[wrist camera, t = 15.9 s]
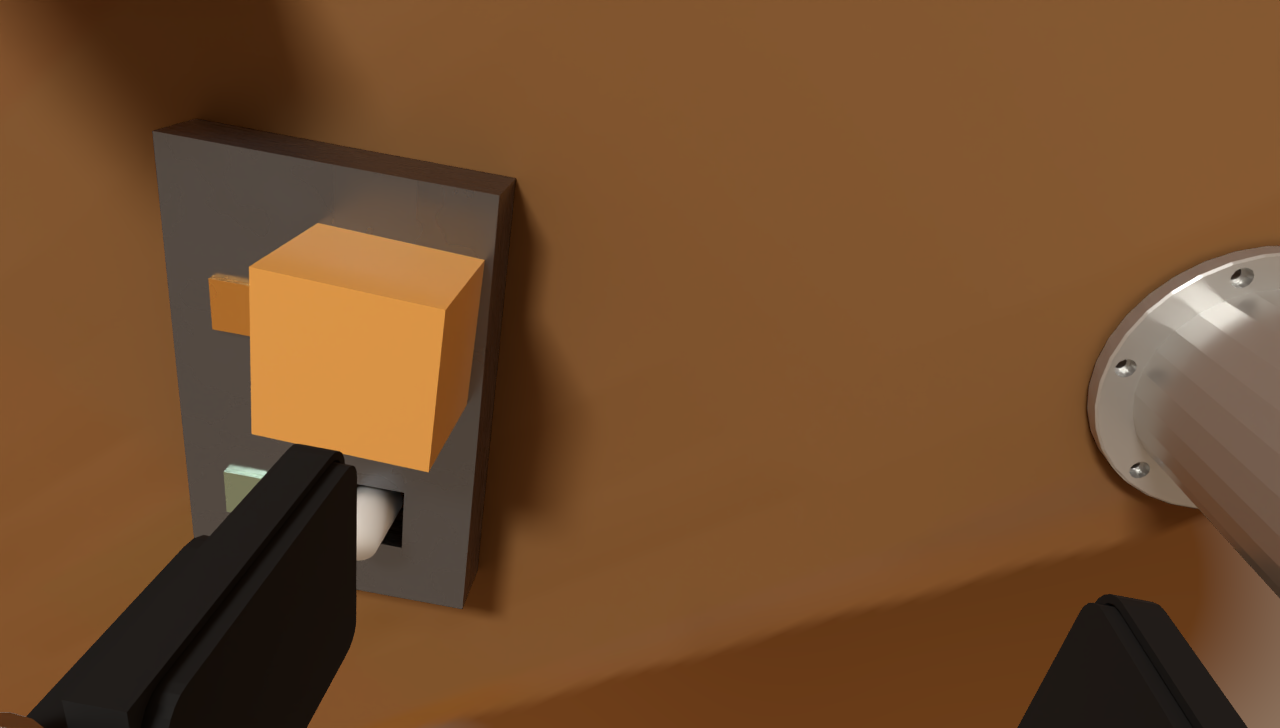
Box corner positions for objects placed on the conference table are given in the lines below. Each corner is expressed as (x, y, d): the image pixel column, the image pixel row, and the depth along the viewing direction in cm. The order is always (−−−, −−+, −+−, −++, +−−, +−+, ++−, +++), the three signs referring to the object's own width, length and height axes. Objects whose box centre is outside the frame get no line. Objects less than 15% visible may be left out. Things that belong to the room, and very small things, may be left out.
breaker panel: (515, 178, 35) (497, 197, 32) (477, 570, 44) (460, 613, 41) (195, 118, 35) (147, 132, 32) (227, 524, 44) (193, 563, 41)
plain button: (403, 482, 40) (378, 524, 37) (401, 520, 41) (377, 564, 38) (356, 474, 40) (327, 514, 37) (355, 512, 41) (327, 555, 38)
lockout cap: (484, 260, 33) (445, 309, 28) (467, 404, 36) (428, 472, 31) (317, 222, 33) (248, 266, 28) (314, 371, 36) (251, 434, 31)
